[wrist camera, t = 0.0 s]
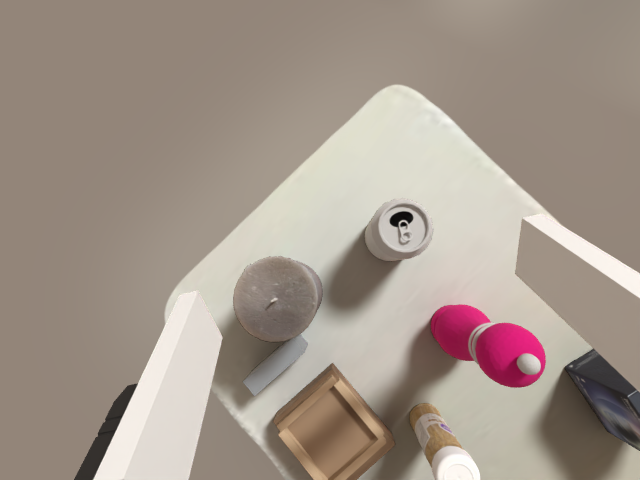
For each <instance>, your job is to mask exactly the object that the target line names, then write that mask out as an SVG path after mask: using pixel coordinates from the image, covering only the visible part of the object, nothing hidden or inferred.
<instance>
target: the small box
mask: <svg viewBox="0 0 640 480" xmlns="http://www.w3.org/2000/svg"><path fill="white" fill-rule="evenodd" d="M565 369H566V371H567V372H568V374H569V375H570V377H571V378H572V380H573V381H574V383H575V384H576V385H577V387H578V388H579V390H580V391H581V393H582V394H583V396H584V397H585V399H586V400H587V402H588V403H589V405H590V406H591V408H592V409H593V411H594V412H595V413H596V415H597V416H598V418H599V419H600V421H601V422H602V424H603V425H604V427H605V428H606V430H607V431H608V432H609V433H611V434H613V435H614V436H616V437H618V438H619V439H621V440H623V441H624V442H626V443H628V444H629V445H631V446H632V447H634V448H636V449H637V450H639V451H640V392H639V391H638V390H637V389H636V388H635V387H634V386H632V385H631V384H630V383H629V382H628V381H627V380H626V379H625V378H624V377H623V376H622V375H621V374H620V373H619V372H618V371H617V370H616V369H615V368H614V367H613V366H611V365H610V364H609V363H608V362H607V361H606V360H605V359H604V358H603V357H602V356H601V355H600V354H599V353H598V352H597V351H596V350H595V349H593V350H591V351H590V352H588V353H587V354H585V355H583V356H582V357H580V358H578V359H577V360H574V361H573V362H571V363H570V364H569V365H567V366H566V367H565Z"/></svg>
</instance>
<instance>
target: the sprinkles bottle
mask: <svg viewBox="0 0 640 480" xmlns="http://www.w3.org/2000/svg"><path fill="white" fill-rule="evenodd" d="M410 424H411V426H412V428H413V430H414V431H415V433H416V436H417V439H418V441H419V443H420V445H421V447H422V449H423V452H424V454H425V456H426V458H427V460H428V462H429V463H430V465H431V468H432V472H433V475H434V478H435V480H480V473H479V470H478V468H477V466H476V464H475V462H474V461H473V459H472V458H471V457H470V455H469V454H468V453H467V452H466V451H465V450H463V448H462V447H461V445H460V444H459V442H458V441H457V440H456V437H455V436H454V434H453V433H452V431H451V430H450V428H449V427H448V425H447V424H446V422H445V421H444V420H443V419H442V417H441V415H440V413H439V411H438V410H437V409H436V408H435V407H434V406H432V405H431V404H427V403H423V404H419V405H417V406H415V407H414V408H413V409H412V411H411V413H410Z"/></svg>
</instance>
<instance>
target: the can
mask: <svg viewBox="0 0 640 480" xmlns="http://www.w3.org/2000/svg"><path fill="white" fill-rule="evenodd" d="M432 234H433V224H432V219H431V217H430V215H429V213H428V211H427V210H426V209H425V208H424V207H423V206H422V205H421V204H419V203H417V202H415V201H413V200H409V199H404V198H401V199H393V200H391V201H389V202H386V203H384V204H383V205H382V206H381V207H380V208H379V209H378V210H377V211H376V213H375V214H374V216H373V218H372V219H371V221H370V222H369V224H368V226H367V227H366V232H365V242H366V245H367V247H368V249H369V251H370V252H371V253H372V254H373V255H374V256H375V257H377V258H379V259H381V260H385V261H397V260H402V259H408V258H412V257H414V256H417V255H419V254H420V253H422V252H423V251H424V250H425V249H426V248H427V247H428V245H429V243H430V241H431V239H432Z"/></svg>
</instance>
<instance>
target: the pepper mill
mask: <svg viewBox="0 0 640 480" xmlns="http://www.w3.org/2000/svg"><path fill="white" fill-rule="evenodd" d="M431 330H432V334H433V336H434V338H435V339H436V340H437V341H438V343H439V345H440V346H441V348H442V349H443V350H444V351H445V352H446V353H447V354H449V355H451V356H453V357H455V358H457V359H460V360H465V361H475V362H476V363H477V364H479V366H480V368H481V369H482V370H483V371H484V373H485V374H486V375H487V376H488V377H489V378H491V379H492V380H494V381H495V382H497V383H499V384H501V385H504V386H508V387H526V386H528V385H531V384H532V383H534V382H535V381H537V380H538V379H539V378H540V376H541V375H542V373H543V371H544V368H545V363H546V360H545V352H544V349H543V347H542V345H541V344H540V342H539V341H538V339H537V338H536V337H535V336H534V335H533V334H532V333H531V332H529V331H528V330H526V329H524V328H523V327H521V326H518V325H515V324H511V323H498V324H497V323H491V322H490V320H489V319H488V318H487V316H485V315H484V314H483V313H482V312H481V311H479V310H478V309H476V308H474V307H471V306H468V305H448V306H444V307H441V308H440V309H438V310H437V311H436V312H435V314H434V315H433V317H432V320H431Z"/></svg>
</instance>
